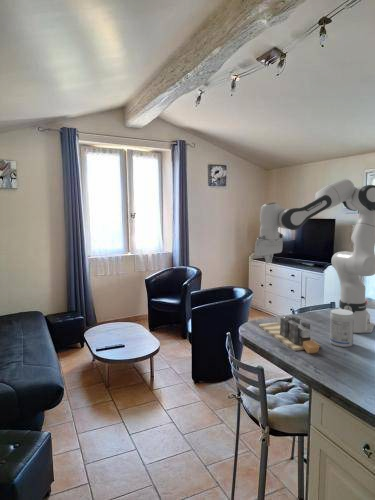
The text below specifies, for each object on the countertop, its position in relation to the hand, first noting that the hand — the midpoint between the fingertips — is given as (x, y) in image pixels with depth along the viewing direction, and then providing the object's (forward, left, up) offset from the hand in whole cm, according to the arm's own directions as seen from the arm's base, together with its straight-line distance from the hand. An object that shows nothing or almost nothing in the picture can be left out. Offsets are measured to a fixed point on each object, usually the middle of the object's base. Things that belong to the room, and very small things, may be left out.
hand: (268, 263), depth 164 cm
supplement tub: (-6, +34, -34) cm, 49 cm away
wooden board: (+2, +12, -34) cm, 36 cm away
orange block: (+11, +26, -32) cm, 42 cm away
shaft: (+5, +16, -31) cm, 35 cm away
